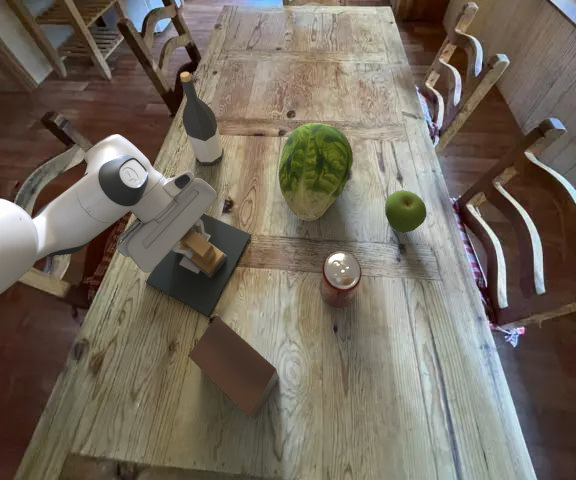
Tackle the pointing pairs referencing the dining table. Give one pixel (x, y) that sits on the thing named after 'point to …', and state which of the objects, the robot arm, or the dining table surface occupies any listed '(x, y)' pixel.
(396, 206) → the apple
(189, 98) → the wine bottle
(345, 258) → the soda can
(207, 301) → the slate board
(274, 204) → the dining table surface
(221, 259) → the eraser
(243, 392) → the walnut block
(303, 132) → the lettuce
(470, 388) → the dining table surface
